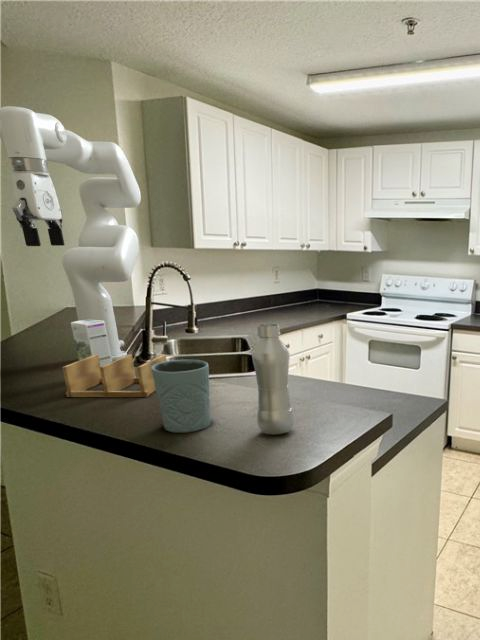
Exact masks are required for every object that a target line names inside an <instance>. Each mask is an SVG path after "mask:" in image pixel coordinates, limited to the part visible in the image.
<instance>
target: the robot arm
mask: <svg viewBox="0 0 480 640" xmlns="http://www.w3.org/2000/svg"><path fill="white" fill-rule="evenodd" d="M0 140H1V142H2V143H3V144H4V145H5V150H6V153H7V158H8V162H9V163H8V164H9V167H10V171H11V175H12V184H13V185H12V187H13V193H14V199H15V204H14V205H13V206H12V208H11V209H12V211H13V214H14V215H15V217H16V221H17V222H18V224H19V226H20V227H19V228H21V230H22V234H23V239H24V241H25V246H27V247H40V246H41V245H42V244H41V240H40V236H39V235H40V234H39V230H38V228H37V227H36V224H37V221H44V223H46V225H47V226H48V228H47V233H48V238H49V242H50V245H51V247H52V246H53V247H55V246H56V247H58V246H65V240H64V239H65V238H64V235H63V230H62V229H63V224H62V223H63V218H62V217H63V211H62V209H61V207H60V203H59V199H58V195H57V192H56V188H55V185H54V182H53V180H52V177H51V176H50V171H49V166H48V162H52V163H57V164H62V165H65V166H67V167H69V168H72V169H74V170H75V171H78V172H80V173H82V174H85V175H87V174H88V175H114V176H116V177H112V176H111V177H109V176H108V177H105V176H104V177H101V176H98V177H95V176H94V177H89V178H86V179H83V180H82V181H81V182H80V184H79V189H78V192H79V198H80V201H81V206H82V208H83V210H84V214H85V216H86V220H85V222H84V224H83V227H82V229H81V230H80V233H79V237H78V246H76V247H71V248H70V247H69V248H68V249H67V250H65V251H64V253H63V254H62V258H61V261H62V262H61V264H62V267H63V270H64V272H65V275H66V277H67V280H68V282H69V285H70V288H71V293H72V295H73V296H72V297H73V302H74V305H75V310H76V317H77V321H79V320H100V321H104V322H105V326H106V331H107V336H108V342H109V347H110V352H111V357H112V361H115V360H117V359H119V358H122V357H124V356H126V355H128V353H127V351H125V350H121V347H124V346H125V341H124V340H122V339H119V334H118V328H117V323H116V317H115V316H116V315H115V312H114V307H113V299H112V297H111V295H110V293H109V292H108V290H106V287H104V286H103V285H102V284H101V283H123V282H126V281H127V282H128V281H129V280H130V278H131V277H132V275H133V271H134V269H135V266H136V263H137V260H138V256H139V251H140V242H139V238H138V235H137V233H136V231H135V230H134V229H133V228H131V227H130V226H128V225H126V224H125V225H124V224H119V223H118V221H117V219H116V218H115V217H114V216H113V215H112V214H111V212H109V211H108V210H107V209H106V208H109V209H111V208H113V209H114V208H115V209H116V208H117V209H119V208H121V209H123V208H124V209H129V208H130V209H132V208H136V207H138V206H139V205H140V203H141V201H142V195H141V190H140V186H139V184H138V182H137V178H136V177H135V174H134V173H133V169H132V167H131V165H130V162H129V160H128V159H127V157H126V155H125V153H124V151H123V150H122V148H121V147H120V146H119V145H118V144H117V143H115V142H113V141H89V140H87V139H85V138H83V137H82V136H80V135H78V134H77V133H75V132H73V131H71V130H68V129H66V128H65V127H64V125H63V123H62V122H61V121H60V120H59V119H58V118H57V117H54V116H53V115H51V114H47V113H39V112H35V111H34V110H33V109H29V108H26V107H23V106H22V107H21V106H12V105H7V106H6V105H5V106H2V107H0Z"/></svg>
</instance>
